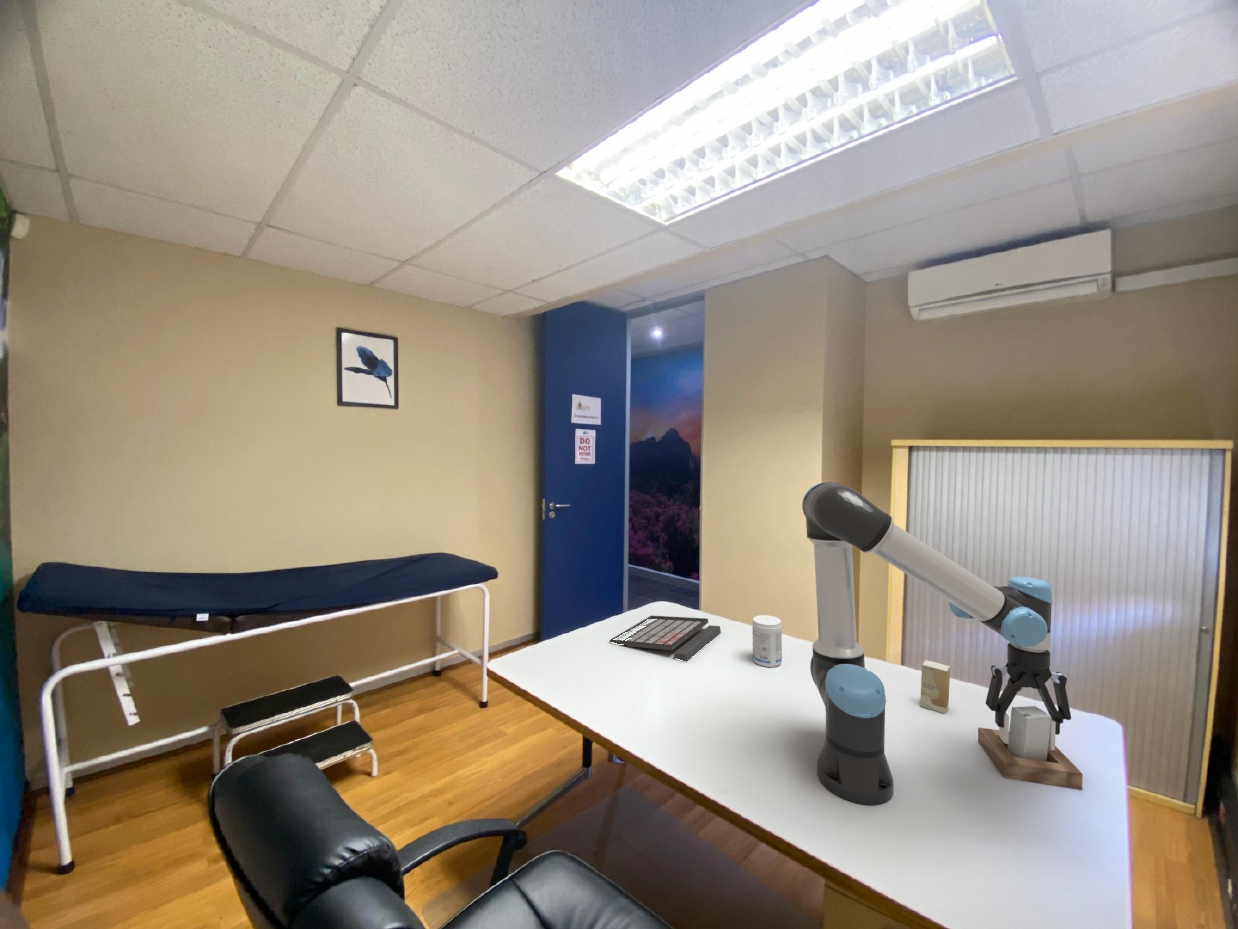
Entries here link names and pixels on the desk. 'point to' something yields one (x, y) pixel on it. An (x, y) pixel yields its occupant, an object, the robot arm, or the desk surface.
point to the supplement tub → (767, 641)
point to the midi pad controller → (672, 635)
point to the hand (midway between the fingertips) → (1026, 743)
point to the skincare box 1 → (935, 686)
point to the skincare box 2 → (1029, 733)
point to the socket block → (1030, 763)
